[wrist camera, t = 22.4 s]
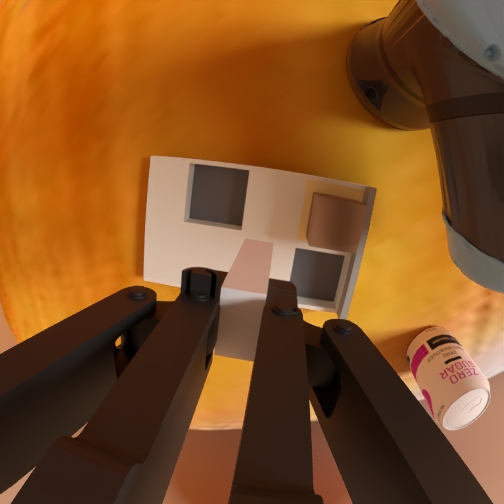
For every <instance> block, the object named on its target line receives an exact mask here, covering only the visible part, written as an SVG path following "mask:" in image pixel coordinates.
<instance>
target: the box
mask: <svg viewBox="0 0 504 504" xmlns="http://www.w3.org/2000/svg"><path fill="white" fill-rule="evenodd" d="M313 192H316V193H322V194H327V195H333V196H338V197H343V198H349V199H354V200H357V201H359V202H360V203H362V204H364V205H366V211H365V216H364V221H363V226H362V231H361V236H360V240H359V245H358V249H357V254H352V253H347V252H341V251H335V250H329V249H323V248H317V247H311V246H309V245H308V241H307V238H306V231H307V225H308V219H309V214H310V208H311V202H312V196H313ZM375 194H376V188H373V187H370V186H366V185H362V184H357V183H352V182H347V181H342V180H337V179H332V178H326V177H321V176H315V175H309V174H304V173H298V172H292V171H285V170H279V169H272V168H266V167H259V166H251V165H244V164H236V163H228V162H220V161H211V160H201V159H192V158H181V157H170V156H151V160H150V170H149V180H148V192H147V206H146V222H145V244H144V280H145V281H150V282H155V283H160V284H165V285H170V286H175V287H181V276H182V270H184V269H185V268H190V267H205V268H209V269H213V270H218V271H224V272H229V270H230V268H231V266H232V264H233V262H234V260H235V258H236V256H237V254H238V252H239V250H240V248H241V246H242V244H243V242H244V240H245V239H251V240H258V241H264V242H270V243H274V245H273V253H272V260H271V268H270V275H269V278H272V279H279V280H285V281H291V282H292V283H293V284H294V285H295V286H296V289H297V302H298V308H305V309H312V310H319V311H326V312H333V313H337V315H338V318H339V319H345V320H346V317H347V314H348V310H349V307H350V303H351V300H352V296H353V292H354V288H355V285H356V281H357V277H358V273H359V269H360V265H361V261H362V256H363V252H364V248H365V243H366V239H367V234H368V230H369V225H370V220H371V215H372V210H373V205H374V200H375Z"/></svg>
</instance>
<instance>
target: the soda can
mask: <svg viewBox="0 0 504 504" xmlns="http://www.w3.org/2000/svg"><path fill="white" fill-rule="evenodd" d="M406 359H407V364H408V366H409V368H410V370H411V372H412V374H413V376H414V378H415V380H416V382H417V384H418V386H419V388H420V390H421V392H422V394H423V396H424V398H425V400H426V402H427V404H428V406H429V408H430V410H431V412H432V414H433V417H434V419H435V420H436V422H437V423H438V424H439V425H442V426H444V427H445V428H446V429H448V430H458V429H461V428H463V427H466V426H468V425H469V424H471V423H472V422H474V421H475V420H476V419H477V418H478V417H480V416H481V414H482V413H483V412H484V411H485V410H486V408H487V406H488V404H489V402H490V397H491V395H490V385H489V382H488V380H487V379H486V377H485V376H484V375H483V373H482V372H481V371H480V369H479V368H478V367H477V365H476V364H475V363H474V361H473V360H472V359H471V358H470V356H469V355H468V354H467V352H466V351H465V350H464V349H463V347H462V346H461V345H460V344H459V342H458V341H457V340H456V339H455V337H454V336H453V335H452V334H451V333H450V331H449V330H447V329H446V328H444V327H432V328H428V329H426V330H425V331H423V332H421V333H420V334H418V335H417V337H416V338H415V339H414V340H413V341H412V342H411V344H410V346H409V347H408V350H407V355H406Z"/></svg>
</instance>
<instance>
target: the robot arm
mask: <svg viewBox="0 0 504 504" xmlns="http://www.w3.org/2000/svg"><path fill="white" fill-rule="evenodd" d="M346 67H347V74H348V78H349V81H350V84H351V87H352V89H353V91H354V93H355V94H356V96H357V98H358V99H359V101H360V102H361V103H362V104H363V106H364V107H365V108H366V109H367V110H368V111H369V112H370V113H371V114H372V115H374V116H375V117H376V118H378V119H379V120H381V121H382V122H384V123H386V124H388V125H390V126H393V127H395V128H398V129H403V130H410V131H415V130H423V129H428V128H430V129H431V133H432V138H433V143H434V148H435V153H436V158H437V164H438V170H439V177H440V184H441V192H442V201H443V209H442V217H443V220H444V223H445V225H446V231H447V240H448V249H449V253H450V256H451V258H452V260H453V262H454V263H455V265H456V266H457V267H458V268H459V269H460V270H461V272H462V273H463V274H464V275H465V276H467V277H468V278H469V279H471V280H472V281H474V282H475V283H477V284H479V285H481V286H483V287H485V288H488V289H490V290H493V291H496V292H499V293H503V294H504V0H399V1H398V3H397V4H396V6H395V7H394V9H393V10H392V12H391V13H390V14H389V16H387V17H384V18H380V19H376V20H374V21H372V22H370V23H368V24H366V25H365V26H364V27H363V28H361V29H360V30H359V32H358V33H357V34H356V36H355V37H354V39H353V41H352V42H351V44H350V47H349V49H348V53H347V60H346ZM273 245H274V243H270V242H264V241H258V240H251V239H245V240H244V242H243V244H242V246H241V248H240V250H239V252H238V254H237V256H236V258H235V260H234V262H233V264H232V266H231V268H230V270H229V272H224V271H218V270H213V269H209V268H205V267H190V268H185V269H184V270H182V276H181V293H180V295H179V296H178V297H177V299H176V300H175V301H156V296H157V294H156V292H155V291H154V290H152V289H150V288H146V287H144V286H133V287H127V288H124V289H122V290H120V291H118V292H116V293H114V294H112V295H110V296H108V297H106V298H104V299H102V300H101V301H99V302H97V303H95V304H93V305H91V306H89V307H87V308H85V309H83V310H81V311H79V312H78V313H76V314H74V315H72V316H70V317H68V318H66V319H64V320H62V321H60V322H59V323H57V324H55V325H53V326H51V327H49V328H47V329H45V330H44V331H42V332H40V333H38V334H36V335H34V336H32V337H31V338H29V339H27V340H25V341H23V342H21V343H19V344H18V345H16V346H14V347H12V348H10V349H9V350H7V351H5V352H3V353H1V354H0V494H1V493H3V492H4V491H6V490H7V489H8V488H10V487H11V486H12V485H14V484H15V483H16V482H18V481H19V480H20V479H21V478H22V477H24V476H25V475H26V474H27V473H28V472H30V471H31V470H32V469H33V468H34V467H35V469H34V470H33V472H32V473H31V475H30V476H29V478H28V479H27V480H26V482H25V483H24V485H23V486H22V488H21V489H20V491H19V492H18V494H17V495H16V497H15V498H14V500H13V501H12V503H11V504H162V503H163V500H164V497H165V494H166V491H167V488H168V485H169V483H170V480H171V477H172V474H173V471H174V469H175V466H176V463H177V460H178V457H179V454H180V451H181V449H182V446H183V443H184V440H185V437H186V435H187V432H188V429H189V426H190V423H191V420H192V418H193V415H194V412H195V409H196V406H197V403H198V400H199V398H200V395H201V392H202V389H203V386H204V383H205V381H206V378H207V375H208V372H209V369H210V366H211V364H212V357H213V350H214V347H215V353H214V354H215V355H220V356H225V357H231V358H236V359H242V360H248V361H254V364H253V370H252V375H251V381H250V387H249V393H248V399H247V405H246V410H245V416H244V421H243V427H242V433H241V438H240V444H239V449H238V455H237V460H236V465H235V471H234V476H233V481H232V486H231V492H230V497H229V502H228V504H324V503H323V499H322V497H321V495H318V494H315V492H314V489H313V470H312V469H313V468H312V442H311V422H310V405H309V399H310V402H311V404H312V407H313V409H314V411H315V414H316V416H317V419H318V421H319V423H320V426H321V428H322V431H323V433H324V435H325V438H326V440H327V442H328V445H329V447H330V450H331V452H332V454H333V457H334V459H335V462H336V464H337V467H338V469H339V471H340V474H341V476H342V479H343V481H344V483H345V486H346V488H347V491H348V493H349V495H350V498H351V500H352V502H353V504H493V503H492V501H491V500H490V498H489V497H488V496H487V494H486V492H485V491H484V490H483V488H482V487H481V485H480V484H479V482H478V481H477V480H476V478H475V477H474V475H473V474H472V473H471V471H470V470H469V468H468V467H467V466H466V464H465V463H464V462H463V460H462V459H461V457H460V456H459V455H458V453H457V452H456V451H455V449H454V448H453V446H452V445H451V444H450V442H449V441H448V440H447V438H446V437H445V436H444V434H443V433H442V432H441V430H440V429H439V428H438V426H437V425H436V424H435V422H434V421H433V420H432V418H431V417H430V416H429V414H428V413H427V412H426V410H425V409H424V408H423V407H422V405H421V404H420V403H419V401H418V400H417V399H416V397H415V396H414V395H413V394H412V392H411V391H410V390H409V388H408V387H407V386H406V385H405V383H404V382H403V381H402V379H401V378H400V377H399V376H398V374H397V373H396V372H395V371H394V369H393V368H392V367H391V365H390V364H389V363H388V362H387V360H386V359H385V358H384V357H383V355H382V354H381V353H380V352H379V350H378V349H377V348H376V347H375V345H374V344H373V343H372V342H371V340H370V339H369V338H368V337H367V336H366V334H365V333H364V332H363V331H362V329H361V328H360V327H358V326H357V325H356V324H354V323H352V322H351V321H348V320H345V319H330V320H327V321H325V323H324V325H323V328H320V327H317V326H314V325H312V324H309V323H307V322H305V321H304V320H303V314H302V312H301V310H300V309H299V308H298V302H297V289H296V286H295V285H294V284H293V283H292V282H291V281H285V280H279V279H272V278H269V275H270V268H271V260H272V253H273ZM120 336H121V344H120V345H119V346H117V347H116V345H115V342H116V340H117V339H118V338H119V337H120ZM87 422H88V424H87V425H86V426H85V428H84V429H83V431H82V432H81V433H80V434H79V436H77V437H75V438H72V437H71V436H72V435H73V434H74V433H76V432H77V431H78V430H79V429H80V428H82V427H83V426H84V425H85V424H86V423H87Z"/></svg>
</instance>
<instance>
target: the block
mask: <svg viewBox="0 0 504 504" xmlns="http://www.w3.org/2000/svg"><path fill="white" fill-rule="evenodd" d="M365 211H366V205H364V204H362V203H360V202H359V201H357V200H354V199H349V198H343V197H338V196H333V195H327V194H322V193H316V192H313V196H312V202H311V208H310V214H309V219H308V225H307V231H306V238H307V241H308V245H309V246H311V247H317V248H323V249H329V250H335V251H341V252H347V253H352V254H357V249H358V245H359V240H360V236H361V231H362V226H363V221H364V216H365Z"/></svg>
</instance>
